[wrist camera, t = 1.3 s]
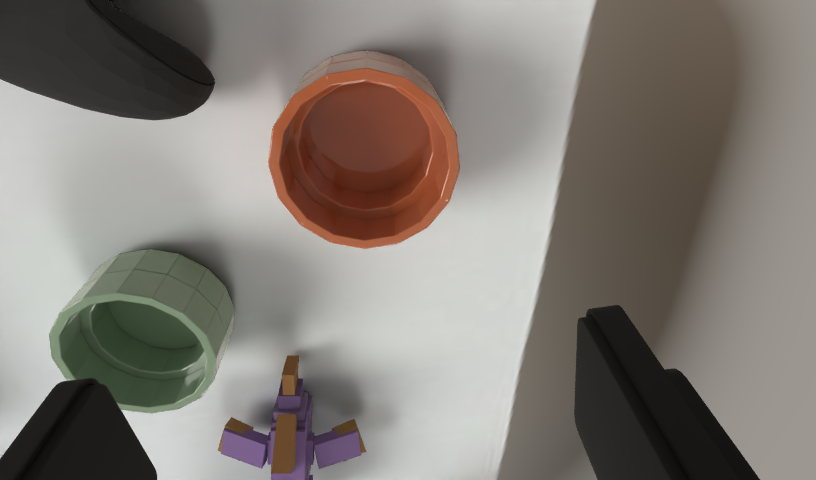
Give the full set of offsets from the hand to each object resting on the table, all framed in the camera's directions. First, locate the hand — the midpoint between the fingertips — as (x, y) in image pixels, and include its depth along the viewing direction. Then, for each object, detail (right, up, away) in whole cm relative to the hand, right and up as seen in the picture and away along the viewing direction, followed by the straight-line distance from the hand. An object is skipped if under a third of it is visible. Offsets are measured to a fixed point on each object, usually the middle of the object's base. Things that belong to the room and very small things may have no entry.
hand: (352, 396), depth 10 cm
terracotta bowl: (-1, +8, +12) cm, 14 cm away
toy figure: (-6, -8, +21) cm, 23 cm away
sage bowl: (-11, 0, +16) cm, 19 cm away
